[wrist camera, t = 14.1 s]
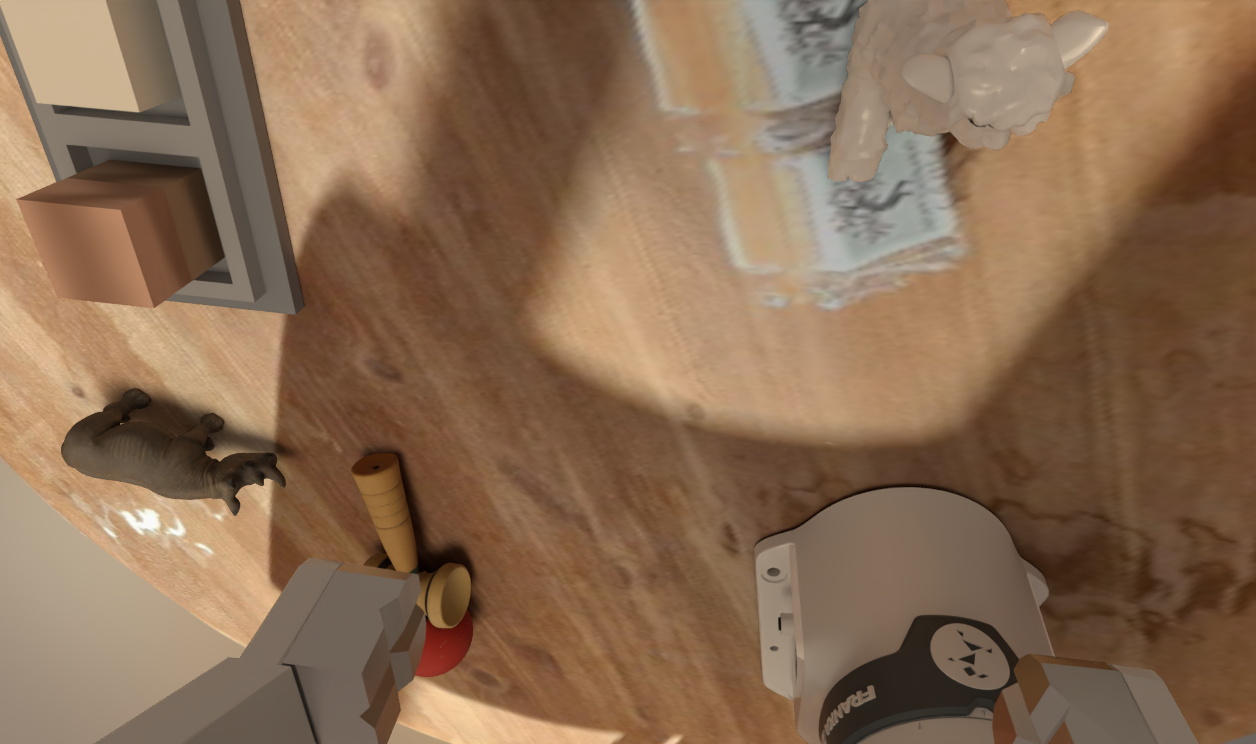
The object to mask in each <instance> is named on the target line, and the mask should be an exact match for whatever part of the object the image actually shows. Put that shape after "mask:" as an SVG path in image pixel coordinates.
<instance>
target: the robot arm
mask: <svg viewBox="0 0 1256 744" xmlns="http://www.w3.org/2000/svg"><path fill="white" fill-rule="evenodd" d="M754 566H755V581H756V597H757V612H758V627H759V643H760V658H761V671H762V677H763V682H764V685H765V686H766V687H767V688H769V689H770V690H772V691H774V692H776V693H778V694H779V695H782V696H784V697H786V698H789V699H791V700H794V711H795V721H796V729H797V732H798V734H799V735H800V736H801V737H802V738H803V739H804V740H805V741H806V742H808V743H809V744H1199V743H1198V741H1197V740H1196V738H1195V736H1194V734H1193V733H1192V731H1191V729H1190V727H1189V725H1188V724H1187V722H1186V720H1185V718H1184V717H1183V715H1182V713H1181V711H1180V709H1179V708H1178V706H1177V704H1176V702H1175V700H1174V699H1173V697H1172V695H1171V693H1170V692H1169V690H1168V688H1167V686H1166V684H1165V683H1164V681H1163V679H1162V678H1161V677H1160V676H1159V675H1158V674H1156V673H1155V672H1154V671H1153V670H1150V669H1144V668H1136V667H1128V666H1120V665H1112V664H1106V663H1104V662H1096V661H1088V660H1079V659H1071V658H1062V657H1055V655H1054V652H1053V649H1052V646H1051V643H1050V639H1049V636H1048V633H1047V630H1046V627H1045V624H1044V621H1043V618H1042V614H1041V611H1040V608H1039V606H1040V605H1041V604H1042V603H1043V602H1044V601H1045V600H1046V598H1047V597H1048V594H1049V590H1048V586H1047V583H1046V580H1045V577H1044V576H1043V574H1042V573H1041V572H1040V571H1039V570H1037V569H1036V568H1035V567H1034V566H1032V565H1031V564H1030V563H1028V562H1027V561H1025V560H1024V559H1022V558H1021V557H1020V555H1019V554H1018V552H1017V550H1016V548H1015V546H1014V543H1013V541H1012V539H1011V536H1010V534H1009V533H1008V531H1007V529H1006V528H1005V526H1004V525H1003V524H1002V523H1001V522H1000V520H999V519H998V518H997V517H996V516H995V515H993V514H992V513H991V512H990V511H988V510H987V509H985V508H984V507H982V506H981V505H979V504H977V503H975V502H973V501H971V500H969V499H967V498H964V497H962V496H959V495H956V494H953V493H949V492H945V491H940V490H935V489H928V488H915V487H900V488H888V489H881V490H875V491H870V492H866V493H862V494H859V495H855V496H852V497H849V498H847V499H844V500H842V501H840V502H838V503H836V504H833V505H832V506H830V507H828V508H826V509H825V510H823V511H821V512H820V513H818V514H817V515H816V516H814V517H813V518H812V519H810V520H809V521H808V522H806V523H805V524H803V525H802V526H800V527H798V528H796V529H795V530H791V531H788V532H784V533H781V534H778V535H774V536H772V537H769V538H766V539H764V540H762V541H760V542H759V543H758V544H757V545H756V546H755V548H754ZM420 593H421V586H420V581H419V576H418V574H413V573H407V572H401V571H394V570H388V569H382V568H376V567H370V566H363V565H357V564H351V563H345V562H338V561H330V560H323V559H316V558H309V559H308V560H306V561H305V562H304V563H303V564H301V565H300V566H299V567H298V569H297V570H296V572H295V573H294V575H293V576H292V578H291V579H290V581H289V582H288V584H287V586H286V587H285V589H284V590H283V592H282V593H281V595H280V596H279V598H278V599H277V601H276V603H275V604H274V606H273V607H272V609H271V610H270V612H269V613H268V615H267V616H266V618H265V620H264V621H263V623H262V624H261V626H260V627H259V629H258V630H257V632H256V633H255V635H254V637H253V638H252V640H251V641H250V643H249V644H248V646H247V647H246V649H245V651H244V652H243V654H242V655H241V657H240V658H239V659H238V658H227V659H225V660H224V661H222V662H221V663H219V664H217V665H216V666H214V667H213V668H211V669H210V670H208V671H207V672H205V673H204V674H202V675H200V676H199V677H197V678H196V679H194V680H192V681H191V682H189V683H188V684H186V685H185V686H183V687H182V688H180V689H179V690H177V691H175V692H174V693H172V694H171V695H169V696H167V697H166V698H165V699H163V700H162V701H160V702H158V703H157V704H155V705H153V706H152V707H150V708H149V709H147V710H146V711H144V712H143V713H141V714H140V715H138V716H136V717H135V718H133V719H132V720H130V721H129V722H127V723H125V724H124V725H122V726H121V727H119V728H118V729H116V730H114V731H113V732H111V733H110V734H108V735H107V736H105V737H104V738H102V739H100V740H99V741H98V742H96V743H94V744H387V743H388V740H389V738H390V735H391V733H392V730H393V728H394V725H395V723H396V721H397V718H398V716H399V713H400V711H401V709H400V703H399V698H398V691H399V690H401V689H402V688H403V687H405V686H406V685H407V684H408V683H410V682H411V681H412V680H413V679H414V676H415V673H416V671H417V668H418V666H419V663H420V660H421V656H422V651H423V647H424V643H425V636H426V619H425V612H424V611H423V610H422V609H421V608H420V607H419V606H418V605H417V604H416V602H417V600H418V597H419V595H420Z"/></svg>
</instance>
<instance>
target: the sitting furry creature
mask: <svg viewBox="0 0 1256 744" xmlns="http://www.w3.org/2000/svg"><path fill="white" fill-rule="evenodd" d="M1108 27H1109V23H1107V22H1106V21H1104V20H1103V19H1100V18H1098V17H1096V16H1093V15H1091V14H1089V13H1086V12H1084V11H1080V10H1077V11H1072V12H1069V13H1067V14H1065V15H1063V16H1061V17H1060V18H1058V19H1057V20H1056V21H1055V22H1053V23H1052V24H1051V25H1050V23H1049V22H1048V20H1047V19H1046V17H1045V15H1044V14H1041V13H1033V14H1029V13H1024V14H1022V15H1020V16H1017V17H1012V13H1011V12H1010V11H1009V9H1008V6H1007V3H1006V1H1005V0H868V1H867V2H866V3H865V4H864V5H863V6H862V7H861V8H859V18H858V19H857V20H856V22H855V26H854V33H853V35H852V37H851V38H852V41H853V46H852V48H851V51H850V52H849V54H848V59H849V62H848V64H847V67H846V69H847V71H848V76H847V79H846V80H845V82H844V83H843V85H842V92H841V103H840V105H839V110H838V112H837V114H836V118H835V125H836V129H835V131H834V133H833V134H832V136H831V139H830V142H831V155H830V159H829V163H828V178H830V179H831V180H834V181H845V180H846V179H847V177H848V176H849V178H850V179H851V180H852V181H854V182H861V181H868V180H871V179H872V178H873V176H874V175H875V173H876V172H877V170H878V166H879V162H880V160H881V156H882V153H883V152H884V151H885V150H886V149H887V147H888V145H887V142H886V139H885V135H886V132H887V130H888V126H890V125H892V124H894V126H895V129H896V131H897V133H901V132H904V131H908V132H910V131H912V132H913V133H914V134H923V135H928V136H934V135H937V133H946V132H951V133H952V134H953V135H954V136H955V137H956V138H957V139H958V141H959V142H960V143H961V144H962V145H964V146H966V147H969V148H980V147H988V148H990V149H992V150H1000V149H1002V148H1003V147H1004V146H1005V145H1006V144H1007V143H1008V141H1009V139H1010V133H1012V134H1013V135H1015V136H1024V135H1026V134H1029V133H1030V132H1032V131H1033V130H1034V129H1035V128H1036V125H1037V123H1039V122H1046V121H1047V120H1048V118H1049V116H1050V111H1051V110H1052V108H1053V105H1054V102H1055V101H1057V100H1059V99H1061V98H1063V97H1064V96H1066V95H1068V94H1069V93H1071V91H1072V85H1073V83H1074V81H1075V75H1074V74H1073V73H1071V72H1067V71H1065V69H1067V68H1068V67H1070V66H1071V65H1073V64H1074V63H1075V62H1077V61H1078V60H1079V59H1080V58H1082V57H1083V56H1084V55H1085V54H1087V53H1088V52H1089V51H1091V49H1092V48H1093V47H1094V46H1095V45H1096V44H1097V43H1098V42H1099V41H1100V40H1101V39H1102V38H1103V37H1104V35H1105V33H1106V32H1107V30H1108Z"/></svg>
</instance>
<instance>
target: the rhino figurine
mask: <svg viewBox="0 0 1256 744" xmlns="http://www.w3.org/2000/svg"><path fill="white" fill-rule="evenodd" d="M149 401H150V397H149V396H148V395H147V394H146V393H143V392H141V391H140V390H139V389H132V390H129V391H127V392H125V393H124V395H123V398H122V399H121V400H120V401H118V402H115V403H113V404H111V405H109V406H106V407H105V408H104V409H103V412H97V413H94V414H92V415H90V416H88V417H86V418H84V419H82V420H80V421H79V422H77V423H76V424H75V425H74V426H73V427H72V428H71V429H70V430H69V432H68V433H67V435H66V437H65V440H64V442H63V444H62V446H61V454H62V457H63V459H64V461H65V462H66V464H67V465H68V466H70V467H72V468H75V469H76V470H78V471H79V472H80V473H82V474H85V475H87V476H90V477H94V478H99V479H106V480H114V481H120V482H125V483H130V484H134V485H138V486H141V487H144V488H147V489H149V490H151V491H152V492H154V493H156V494H158V495H161V496H163V497H166V498H171V499H185V500H194V499H205V498H213V499H223V500H224V501H225V502H226V503H227V505H228V507H229V509H230V510H231V512H232V513H233V515H234V516H236V515H237V513H238V511H239V509H240V502H239V500H238V499H237V498H236V497H235V495H236V494H237V493H238V491H239V490H240V489H241V488H242V487H243V486H246V485H252V484H254V483H256V484H258V485H260V486H263V485H264V479H267V478H268V479H271V480H274V481H276V482H278V483H279V484H280V487H281V488H282V489H283V488H285V486H286V481H285V478H284V476H283V475H282V473H281V472H280V471H279V470H278V469H277V467H276V463H277V457H276V455H275V454H274V453H236V454H232V455H229V456H227V457H225V458H224V459H223V460H222V461H220V462H219V461H218V460H217V459H212V458H211V457H209V456H207V455H206V452H205V451H211V450H212V449H213V448H214V445H213V441H212V439H211V438H210V437H208V435H209V434H210V433H213V432H218V431H220V430H222V429H223V426H222V425H223V424H224V420H223V419H222V418H221V417H219V416H218V415H216V414H213V413H211V414H207V415H204V416H203V417H202V418H201V420H200V424H199V425H198V426H196V427H194V428H193V429H192V430H191V431H190V432H187V433H185V434H182V435H179V436H177V437H175V436H174V435H173V434H172V433H170V432H169V431H167V430H165V429H163V428H161V427H159V426H157V425H154V424H150V423H142V422H129V420H130V417H129V416H128V414H127V413H129V412H130V411H132V410H134V409H141V408H145V407H147V406H148V402H149ZM127 422H128V423H127ZM120 423H124V424H121V425H120Z"/></svg>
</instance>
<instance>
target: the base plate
mask: <svg viewBox="0 0 1256 744" xmlns="http://www.w3.org/2000/svg"><path fill="white" fill-rule="evenodd" d="M0 36H1V38H2V41H3V44H4V46H5V49H6V51H7V54H8V57H9V59H10V62H11V64H12V67H13V70H14V72H15V75H16V77H17V80H18V83H19V85H20V88H21V90H22V93H23V96H24V98H25V101H26V104H27V106H28V109H29V111H30V114H31V117H32V119H33V122H34V124H35V127H36V130H37V132H38V135H39V137H40V140H41V143H42V145H43V148H44V150H45V153H46V156H47V158H48V161H49V163H50V166H51V169H52V171H53V174H54V177H55V179H56V182H58V181H61V180H63V179H65V178H68V177H70V176H72V175H75V174H77V173H80V172H82V171H84V170H87V169H89V168H91V167H94V166H96V165H98V164H101V163H103V162H105V161H108V160H119V161H130V162H140V163H150V164H161V165H171V166H181V167H192V168H201V170H202V174H203V177H204V181H205V185H206V188H207V192H208V196H209V200H210V203H211V207H212V211H213V214H214V218H215V222H216V226H217V229H218V233H219V237H220V240H221V244H222V248H223V252H224V255H225V258H223V259H222V260H221V261H219V262H218V263H216V264H215V265H214V266H212V267H211V268H209V269H208V270H207V271H205V272H204V273H202V274H201V275H200V276H198V277H197V278H196V279H194V280H193V281H191V282H190V283H189V284H187V285H186V286H184V287H183V288H182V289H180V290H179V291H177V292H176V293H175V294H173V295H172V296H170V297H169V298H168V299H166V301H175V302H184V303H193V304H202V305H211V306H221V307H230V308H239V309H248V310H257V311H266V312H275V313H285V314H294V315H296V314H297V313H298V312H299V311H300V310H301V309H302V308H303V307H304V303H303V298H302V293H301V289H300V284H299V279H298V275H297V270H296V265H295V260H294V256H293V251H292V246H291V242H290V237H289V232H288V228H287V223H286V218H285V214H284V209H283V204H282V199H281V195H280V190H279V185H278V181H277V176H276V171H275V167H274V162H273V157H272V153H271V148H270V143H269V139H268V134H267V129H266V124H265V120H264V115H263V110H262V106H261V101H260V96H259V92H258V87H257V82H256V78H255V73H254V68H253V63H252V59H251V54H250V49H249V45H248V40H247V35H246V31H245V26H244V21H243V17H242V12H241V7H240V2H239V0H0Z"/></svg>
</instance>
